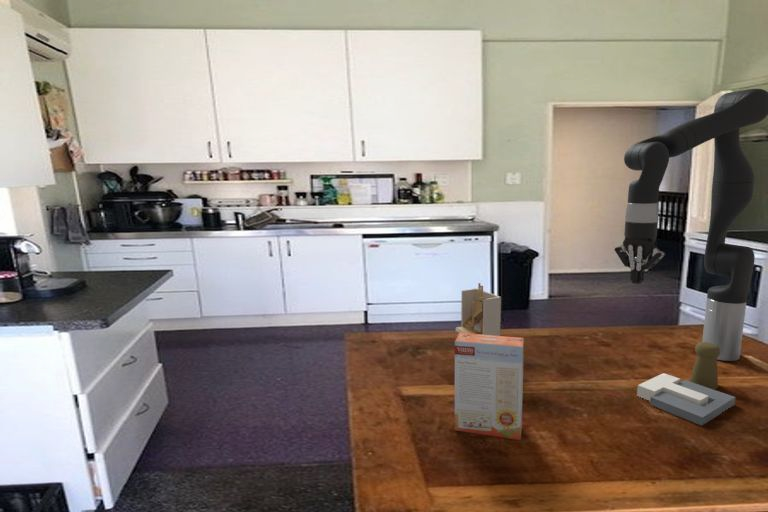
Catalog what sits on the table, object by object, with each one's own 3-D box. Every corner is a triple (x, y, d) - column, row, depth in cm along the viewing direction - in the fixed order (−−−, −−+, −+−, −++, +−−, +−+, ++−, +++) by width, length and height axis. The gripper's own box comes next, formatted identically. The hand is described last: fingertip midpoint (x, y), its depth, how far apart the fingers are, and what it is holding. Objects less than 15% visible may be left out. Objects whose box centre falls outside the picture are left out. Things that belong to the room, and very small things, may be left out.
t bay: (649, 404, 107) (650, 397, 107) (683, 387, 115) (684, 379, 115) (701, 425, 98) (702, 417, 98) (734, 404, 106) (735, 397, 106)
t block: (636, 396, 111) (637, 385, 111) (662, 383, 118) (663, 373, 117) (690, 417, 101) (691, 405, 101) (715, 402, 107) (716, 391, 107)
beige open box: (474, 356, 139) (475, 275, 134) (499, 370, 128) (501, 283, 124) (453, 361, 136) (453, 278, 131) (476, 376, 125) (478, 287, 121)
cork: (723, 390, 113) (727, 348, 111) (696, 388, 114) (700, 347, 113) (711, 379, 119) (715, 340, 117) (685, 378, 120) (689, 338, 118)
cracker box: (521, 426, 99) (525, 336, 95) (520, 442, 94) (524, 346, 90) (458, 417, 104) (459, 330, 100) (453, 431, 98) (454, 340, 94)
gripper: (675, 220, 116) (669, 285, 119) (625, 217, 127) (621, 276, 130) (659, 223, 112) (654, 290, 115) (609, 219, 123) (605, 280, 126)
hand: (636, 283), depth 123 cm, fingers closed
